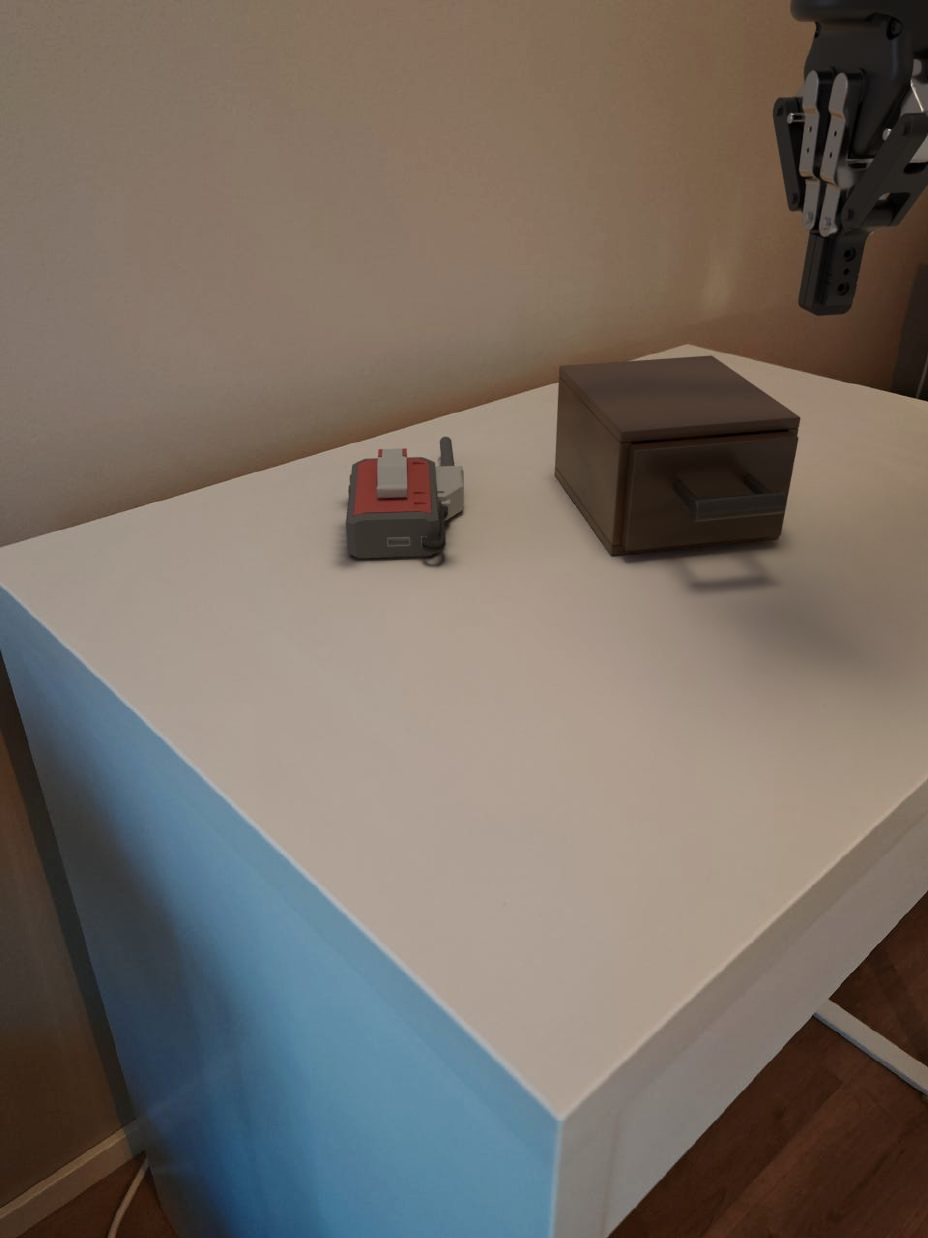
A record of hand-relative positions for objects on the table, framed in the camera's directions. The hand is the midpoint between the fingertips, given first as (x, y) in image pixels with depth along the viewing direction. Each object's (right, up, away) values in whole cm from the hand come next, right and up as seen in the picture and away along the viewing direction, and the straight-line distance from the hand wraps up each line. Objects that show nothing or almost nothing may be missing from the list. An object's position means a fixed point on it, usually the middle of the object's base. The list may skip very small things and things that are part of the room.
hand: (822, 310), depth 49 cm
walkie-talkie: (-23, -7, +25) cm, 35 cm away
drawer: (-3, -8, +21) cm, 23 cm away
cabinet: (-3, -7, +25) cm, 26 cm away
